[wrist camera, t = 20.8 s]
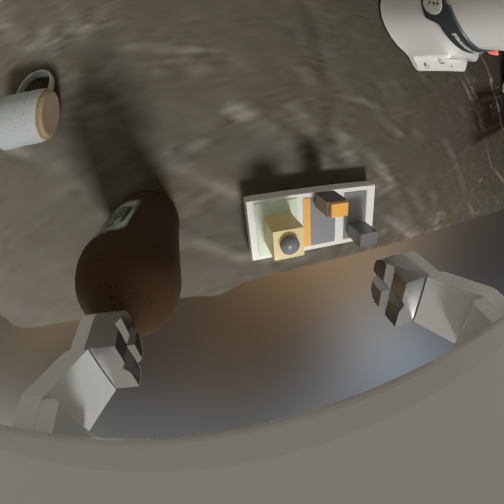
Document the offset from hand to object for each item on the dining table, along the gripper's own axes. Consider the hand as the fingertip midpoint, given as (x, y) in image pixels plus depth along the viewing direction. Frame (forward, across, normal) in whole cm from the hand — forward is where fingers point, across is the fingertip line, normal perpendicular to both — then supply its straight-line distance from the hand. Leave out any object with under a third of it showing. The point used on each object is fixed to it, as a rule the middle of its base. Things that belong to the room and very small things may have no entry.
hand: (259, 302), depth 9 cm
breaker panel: (+31, -14, +11) cm, 36 cm away
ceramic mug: (+31, +23, -13) cm, 41 cm away
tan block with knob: (+28, -8, +11) cm, 32 cm away
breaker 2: (+29, -20, +13) cm, 38 cm away
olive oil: (+31, +10, +8) cm, 34 cm away
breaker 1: (+29, -15, +8) cm, 33 cm away
